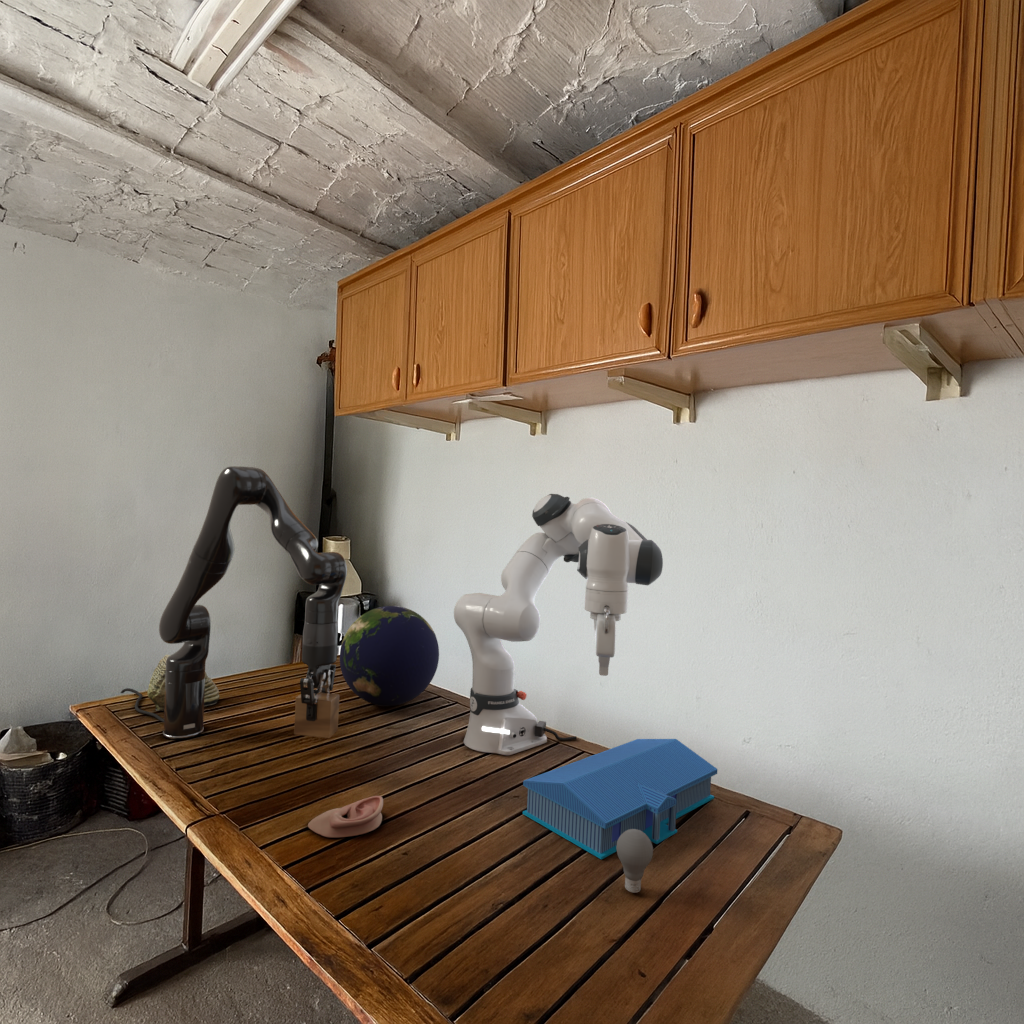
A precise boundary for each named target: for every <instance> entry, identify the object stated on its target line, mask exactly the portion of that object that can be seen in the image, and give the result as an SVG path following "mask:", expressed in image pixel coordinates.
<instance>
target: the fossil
mask: <svg viewBox="0 0 1024 1024" xmlns="http://www.w3.org/2000/svg"><path fill="white" fill-rule="evenodd" d="M170 655H171V654H165V655H164V656H163V657H162V658H161V659H160V660H159V662H158V663H157V666H156V667H155V669H154V670H153V672H152V675H151V677H150V680H149V684H148V688H147V697H148V699H149V700H150V701H152V703H153V704H154V706H155V711H158V712H159V711H162V712H163V711H164V705H165V674H166V660H167V658H168V657H169V656H170ZM220 698H221V696H220V690H219V688H218V686H217V685H216V683H215V682H214V681H213V679H212V678H211V677H209V675H208V674H207V672H206V671H205V693H204V707H207V706H213V705H215V704H217V703H218V701H219V699H220Z"/></svg>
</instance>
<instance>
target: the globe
mask: <svg viewBox="0 0 1024 1024" xmlns="http://www.w3.org/2000/svg"><path fill="white" fill-rule="evenodd" d="M436 635H437V634H436V633H435V631H434V629H433V628H432V626H431V624H430V623H429V622H428V621H427V620H426V619H425V618H424V617H423V616H422V615H421V614H419V613H417V612H416V611H414V610H412V609H410V608H407V607H404V606H399V605H384V606H380V607H379V606H378V607H375V608H373V609H371V610H368V611H366V612H364V613H363V614H362V615H360V616H359V617H358V618H357V619H356V620H355V621H354V622H352V623H351V624H350V626H349V628H348V629H347V631H346V632H345V635H344V636H343V639H342V641H341V645H340V650H339V666H340V671H341V674H342V677H343V679H344V681H345V683H346V685H347V686H348V687H349V689H350V690H351V691H352V692H353V694H355V695H356V696H357V697H358V698H360V699H362V700H363V701H365V702H367V703H369V704H372V705H374V706H378V707H394V706H399V705H403V704H405V703H408V702H410V701H412V700H414V699H415V698H417V697H418V696H420V695H421V694H422V693H423V692H424V691H425V690H426V689H427V688H428V687H429V685H430V684H431V682H432V681H433V679H434V677H435V675H436V673H437V669H438V667H439V661H440V660H439V659H440V647H439V642H438V638H437V636H436Z"/></svg>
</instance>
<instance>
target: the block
mask: <svg viewBox="0 0 1024 1024" xmlns="http://www.w3.org/2000/svg"><path fill="white" fill-rule="evenodd" d="M314 697H315V693H314ZM294 705H295V707H294V725H293V726H294V727H293V729H294V730H293V735H296V736H305V737H315V738H325V739H330V738H331V737H333V736H334V735H335V734H336V733H337V732H338V731H339V714H340V694H339V693H337V694H336V693H320V694H319V697H318V703H317V719H316V720H315V721H307V720H306V708H307V704H304V703H302V702H301V693H300V694H298V695H297V696H296V697H295V704H294Z"/></svg>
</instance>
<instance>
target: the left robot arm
mask: <svg viewBox="0 0 1024 1024" xmlns="http://www.w3.org/2000/svg"><path fill="white" fill-rule="evenodd" d="M214 484H215V485H214V488H213V490H212V494H211V499H210V502H209V505H208V509H207V512H206V516H205V518H204V521H203V524H202V527H201V529H200V532H199V534H198V537H197V539H196V541H195V543H194V545H193V547H192V550H191V552H190V555H189V557H188V560H187V564H186V566H185V568H184V570H183V573H182V575H181V577H180V580H179V582H178V584H177V586H176V588H175V590H174V592H173V594H172V595H171V597H170V599H169V601H168V602H167V604H166V606H165V608H164V610H163V611H162V613H161V616H160V619H159V624H158V632H159V637H160V639H161V640H162V641H163V642H164V643H166V644H169V645H174V644H175V645H177V644H182V646H180V648H179V649H178V650H177V651H175V652H173V653H172V654H169V655H170V656H169V657H168V658H167V660H166V674H165V705H164V710H163V717H161V716H160V715H158V714H157V713H154V712H151V711H147V710H143V709H141V708H139V705H140V701H141V700H142V698H143V694H142V693H141V692H139V691H137V690H136V689H133V688H131V687H130V688H128V687H126V688H123V689H122V690H121V691H120V694H124V693H125V692H131V693H133V694H135V695H137V696H138V698H136V701H135V705H134V710H135V711H136V712H138V713H140V714H143V715H147V716H150V717H153V718H155V719H156V720H158V721H160V722H162V723H163V731H162V737H164V738H166V739H169V740H185V739H190V738H191V739H192V738H194V737H197V736H199V735H202V734H203V732H204V730H205V729H204V722H205V721H204V718H205V706H204V693H205V672H206V664H207V663H206V662H207V658H208V655H209V651H210V639H211V628H212V621H211V614H210V612H209V610H208V608H207V607H206V606H205V605H203V604H197V603H198V601H199V600H201V598H202V597H203V596H205V595H206V594H207V593H208V592H209V591H210V590H212V588H214V587H215V586H216V585H217V584H218V583H219V582H220V581H221V580H222V579H223V577H225V575H226V574H227V571H228V570H229V567H230V564H231V562H232V561H233V558H234V555H235V549H236V547H235V542H234V538H233V534H232V531H231V521H232V519H233V516H234V513H235V511H236V509H237V507H238V506H251V505H255V506H257V507H258V508H259V509H261V510H262V511H263V512H265V513H266V515H267V516H268V518H269V527H270V531H271V535H272V536H273V538H274V540H275V541H276V543H278V545H279V546H280V548H282V549H283V550H284V551H285V552H286V553H287V554H288V555H289V557H290V559H291V561H292V564H293V565H294V567H295V570H296V572H297V574H298V576H299V577H300V578H301V579H302V580H303V581H304V582H305V583H307V584H309V585H310V586H311V585H312V586H318V589H317V591H315V592H314V593H312V594H311V595H309V596H308V597H307V598H306V599H305V612H304V625H303V630H302V647H301V648H302V649H301V662H302V663H303V664H304V665H306V666H307V667H308V668H307V672H306V675H305V678H304V677H301V678H300V680H299V687H300V688H299V689H300V694H301V702H302V703H304V704H307V708H306V720H307V721H315V720H316V719H317V703H318V697H319V694H320V693H330V692H331V691H332V692H333V689H334V682H335V675H336V670H337V669H336V668H337V665H336V662H337V660H338V640H339V625H338V616H339V615H338V614H339V602H340V599H341V596H342V593H343V590H344V586H345V582H346V579H347V575H348V566H347V561H346V560H345V559H346V558H345V557H344V556H343V555H342V554H341V553H340V552H337V551H325V552H317V549H318V547H319V540H318V538H317V537H316V536H315V534H313V532H312V531H311V530H310V529H309V528H308V527H307V526H306V525H305V524H304V522H302V520H300V519H299V517H297V515H296V514H295V513H294V512H293V510H292V509H291V508H290V506H289V504H288V503H287V502H286V500H285V499H284V497H283V495H282V494H281V493H280V491H279V490H278V488H277V486H276V485H275V483H274V481H273V480H272V478H270V476H269V475H268V474H267V472H266V471H265V470H263V469H261V468H259V467H255V466H241V465H239V466H238V465H237V466H236V465H230V466H227V467H224V468H223V469H222V471H221V472H220V474H219V475H218V477H217V479H216V482H215V483H214ZM314 693H315V697H314ZM330 694H331V693H330Z"/></svg>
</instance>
